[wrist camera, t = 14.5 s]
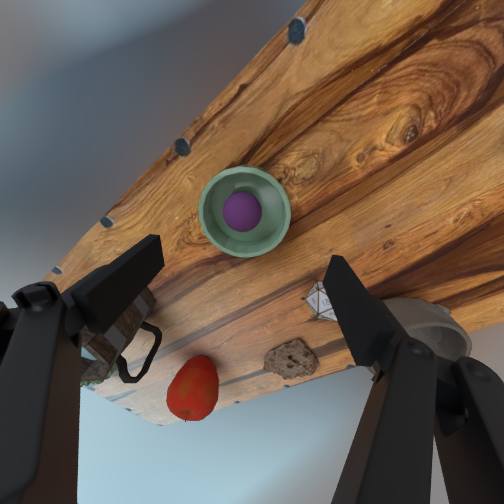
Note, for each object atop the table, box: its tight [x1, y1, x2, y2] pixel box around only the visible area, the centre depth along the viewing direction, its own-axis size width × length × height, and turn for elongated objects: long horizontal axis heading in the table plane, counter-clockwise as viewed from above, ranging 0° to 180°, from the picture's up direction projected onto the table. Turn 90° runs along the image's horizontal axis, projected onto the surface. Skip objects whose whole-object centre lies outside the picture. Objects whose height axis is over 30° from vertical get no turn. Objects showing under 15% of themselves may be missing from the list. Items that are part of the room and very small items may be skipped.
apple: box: [166, 356, 219, 422], centre depth 47 cm, size 12×12×14 cm
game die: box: [300, 278, 340, 326], centre depth 36 cm, size 9×8×10 cm
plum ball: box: [223, 192, 262, 232], centre depth 29 cm, size 6×6×6 cm
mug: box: [80, 286, 162, 383], centre depth 38 cm, size 20×14×15 cm
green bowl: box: [198, 164, 291, 257], centre depth 30 cm, size 13×13×6 cm
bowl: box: [367, 298, 472, 375], centre depth 37 cm, size 17×18×10 cm
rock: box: [263, 338, 319, 380], centre depth 49 cm, size 14×13×4 cm
